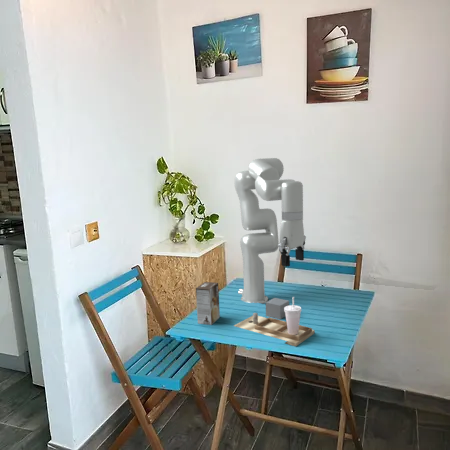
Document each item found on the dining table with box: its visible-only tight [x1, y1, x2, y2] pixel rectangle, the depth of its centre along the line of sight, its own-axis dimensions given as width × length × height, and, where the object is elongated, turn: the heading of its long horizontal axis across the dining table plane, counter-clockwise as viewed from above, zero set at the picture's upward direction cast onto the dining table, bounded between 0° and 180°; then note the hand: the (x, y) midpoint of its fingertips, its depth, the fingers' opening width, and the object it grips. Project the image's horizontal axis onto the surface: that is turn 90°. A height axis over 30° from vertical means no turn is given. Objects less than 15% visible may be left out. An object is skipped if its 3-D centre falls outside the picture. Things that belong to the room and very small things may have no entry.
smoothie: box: [284, 296, 302, 335], centre depth 163 cm, size 6×6×14 cm
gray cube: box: [265, 297, 290, 321], centre depth 182 cm, size 7×7×7 cm
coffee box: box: [195, 281, 221, 326], centre depth 179 cm, size 9×6×16 cm
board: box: [233, 312, 316, 347], centre depth 169 cm, size 28×14×5 cm, turn 51°
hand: (292, 262), depth 159 cm, fingers open, 9 cm apart
